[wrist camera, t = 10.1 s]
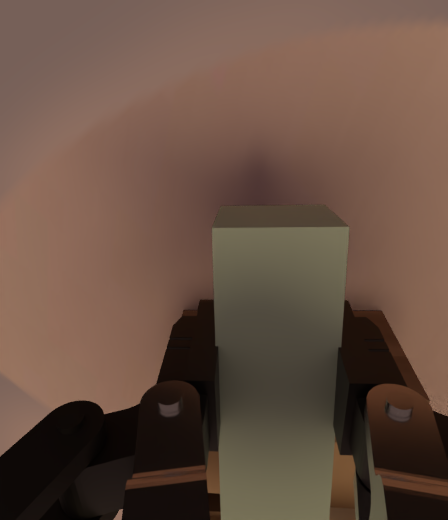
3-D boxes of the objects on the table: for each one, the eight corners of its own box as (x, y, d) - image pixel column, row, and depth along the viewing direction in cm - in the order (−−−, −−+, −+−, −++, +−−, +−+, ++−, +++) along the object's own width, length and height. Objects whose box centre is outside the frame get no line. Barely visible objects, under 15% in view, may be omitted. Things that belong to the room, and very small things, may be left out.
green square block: (310, 482, 15) (324, 204, 12) (325, 566, 12) (349, 226, 9) (227, 479, 15) (220, 205, 12) (222, 562, 12) (211, 228, 9)
